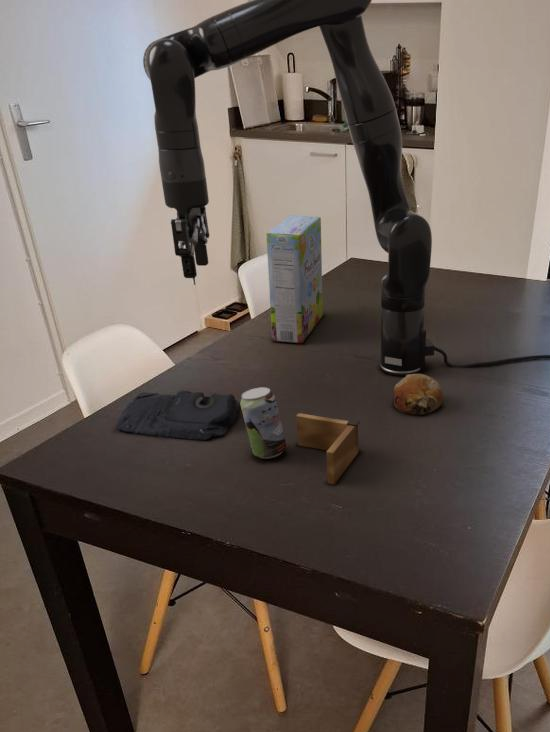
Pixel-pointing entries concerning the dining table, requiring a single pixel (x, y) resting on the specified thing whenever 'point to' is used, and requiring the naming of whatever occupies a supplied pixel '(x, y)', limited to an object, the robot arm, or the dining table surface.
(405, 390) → the bread roll
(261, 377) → the dining table surface
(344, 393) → the dining table surface
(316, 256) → the snack box
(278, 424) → the beverage can
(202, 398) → the grommeted fabric pouch
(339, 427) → the shelf corner
